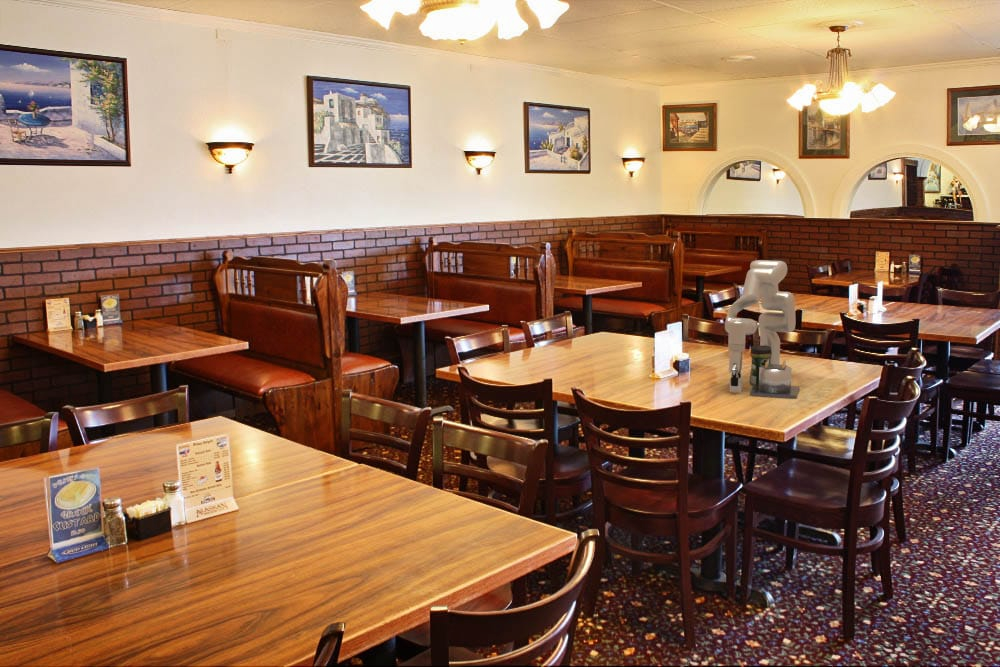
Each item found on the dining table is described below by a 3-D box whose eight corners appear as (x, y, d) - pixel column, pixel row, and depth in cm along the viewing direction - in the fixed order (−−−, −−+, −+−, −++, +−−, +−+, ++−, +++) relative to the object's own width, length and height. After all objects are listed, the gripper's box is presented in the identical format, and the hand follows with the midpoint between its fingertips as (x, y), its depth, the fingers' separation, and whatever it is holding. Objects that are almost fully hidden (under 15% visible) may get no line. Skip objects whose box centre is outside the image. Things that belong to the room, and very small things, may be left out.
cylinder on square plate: (754, 386, 414) (755, 356, 412) (799, 389, 407) (800, 358, 404) (749, 395, 396) (750, 364, 394) (796, 398, 388) (797, 367, 386)
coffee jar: (764, 381, 425) (765, 343, 422) (773, 384, 417) (775, 346, 414) (746, 383, 422) (747, 345, 419) (755, 386, 415) (756, 347, 412)
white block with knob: (731, 389, 409) (731, 373, 408) (742, 390, 407) (742, 374, 406) (729, 392, 404) (729, 376, 403) (740, 392, 403) (741, 376, 401)
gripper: (730, 344, 412) (729, 380, 414) (725, 349, 396) (724, 387, 398) (747, 344, 409) (746, 381, 411) (742, 350, 393) (741, 388, 396)
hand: (735, 384), depth 405 cm, fingers open, 9 cm apart
